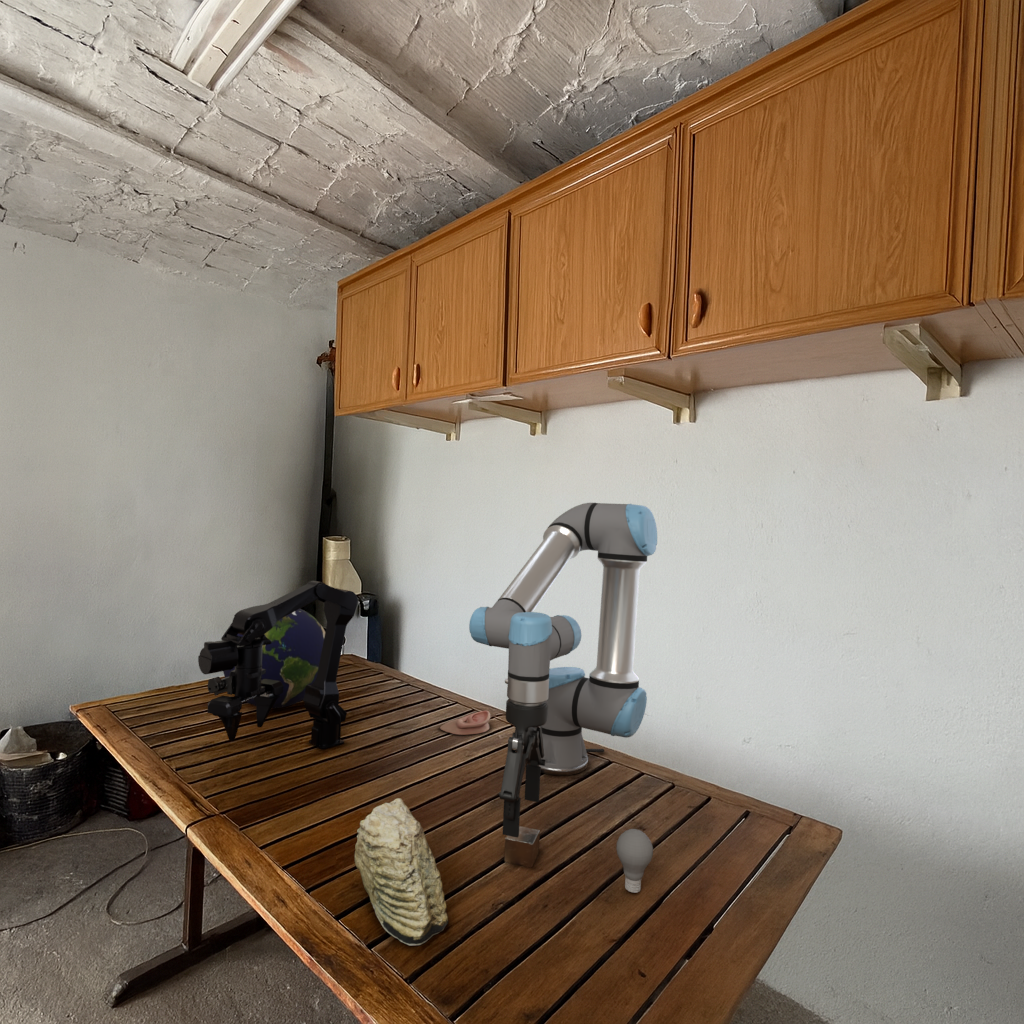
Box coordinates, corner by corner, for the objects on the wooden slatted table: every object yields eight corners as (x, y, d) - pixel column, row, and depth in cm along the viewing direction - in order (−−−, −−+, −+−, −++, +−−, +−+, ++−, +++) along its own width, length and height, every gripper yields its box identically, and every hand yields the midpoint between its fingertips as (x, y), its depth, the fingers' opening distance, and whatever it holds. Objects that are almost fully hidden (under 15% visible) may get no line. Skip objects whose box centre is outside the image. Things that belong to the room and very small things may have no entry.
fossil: (387, 871, 108) (391, 784, 108) (458, 926, 95) (462, 827, 95) (340, 893, 102) (344, 800, 101) (410, 955, 89) (414, 849, 88)
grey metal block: (512, 847, 118) (513, 824, 118) (538, 852, 116) (540, 829, 116) (504, 861, 113) (505, 838, 113) (531, 867, 111) (532, 843, 111)
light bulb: (610, 879, 108) (613, 822, 108) (644, 879, 109) (647, 822, 109) (619, 902, 102) (622, 840, 102) (655, 901, 103) (658, 840, 103)
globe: (289, 685, 209) (292, 594, 208) (348, 705, 191) (352, 606, 191) (199, 706, 185) (203, 604, 184) (258, 732, 167) (262, 619, 167)
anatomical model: (436, 717, 173) (449, 704, 184) (436, 732, 173) (448, 718, 184) (483, 723, 170) (493, 709, 181) (483, 738, 170) (493, 723, 181)
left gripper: (247, 652, 156) (244, 715, 156) (188, 671, 138) (185, 742, 138) (285, 658, 152) (283, 722, 153) (230, 678, 135) (227, 750, 135)
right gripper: (526, 679, 127) (521, 784, 127) (484, 718, 103) (478, 847, 104) (562, 684, 125) (557, 791, 125) (528, 725, 101) (522, 856, 101)
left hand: (246, 733), depth 145 cm, fingers open, 9 cm apart
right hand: (521, 816), depth 114 cm, fingers open, 13 cm apart
